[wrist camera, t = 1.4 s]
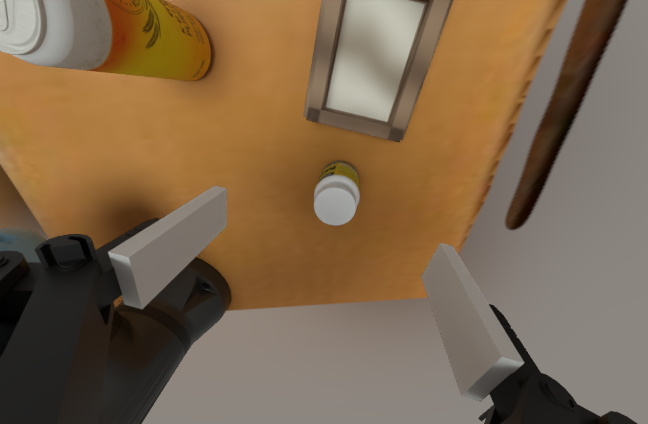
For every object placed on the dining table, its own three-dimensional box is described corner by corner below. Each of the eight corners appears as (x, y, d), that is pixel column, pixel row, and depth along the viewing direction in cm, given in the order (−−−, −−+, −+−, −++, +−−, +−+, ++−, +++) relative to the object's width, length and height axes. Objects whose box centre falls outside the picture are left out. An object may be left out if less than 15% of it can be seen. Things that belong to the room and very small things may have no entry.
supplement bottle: (334, 152, 27) (327, 172, 20) (366, 173, 28) (371, 201, 20) (313, 183, 29) (300, 212, 22) (344, 202, 30) (341, 237, 23)
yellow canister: (221, 32, 23) (44, -57, 10) (207, 92, 26) (51, 86, 12) (164, -3, 22) (-114, -151, 9) (155, 62, 25) (-70, 22, 12)
